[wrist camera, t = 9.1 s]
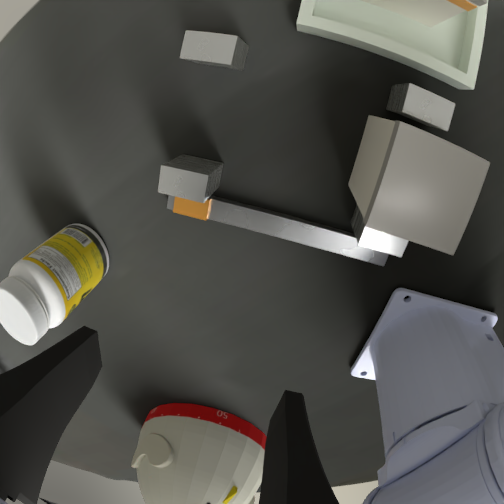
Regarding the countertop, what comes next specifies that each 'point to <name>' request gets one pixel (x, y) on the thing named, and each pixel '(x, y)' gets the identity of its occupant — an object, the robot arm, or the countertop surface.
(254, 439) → the kitchen timer
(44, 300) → the supplement bottle
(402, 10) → the white box with band
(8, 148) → the countertop surface
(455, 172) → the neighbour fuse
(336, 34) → the tray
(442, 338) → the robot arm
